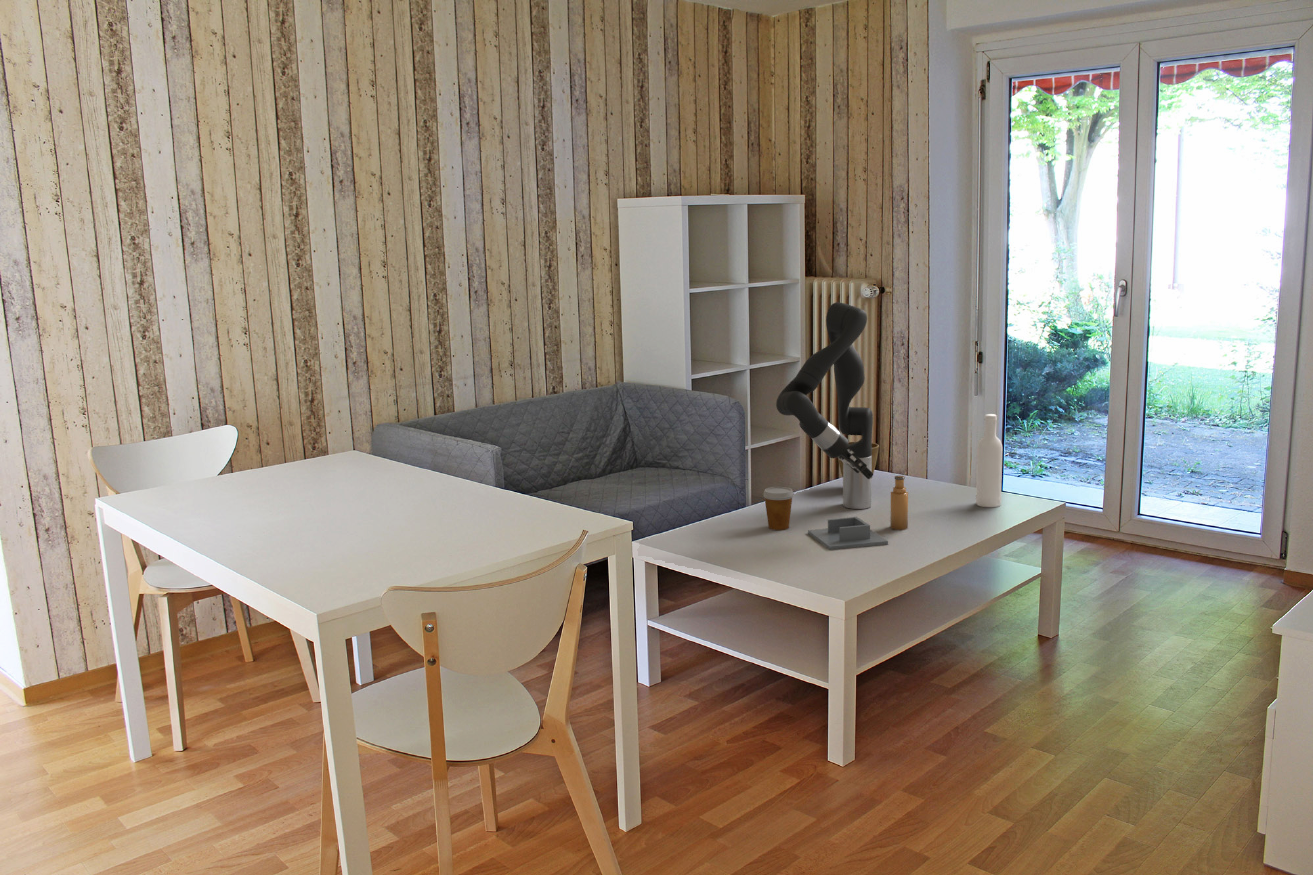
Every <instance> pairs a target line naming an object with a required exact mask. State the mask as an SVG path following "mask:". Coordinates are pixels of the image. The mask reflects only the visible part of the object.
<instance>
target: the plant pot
mask: <svg viewBox="0 0 1313 875" xmlns="http://www.w3.org/2000/svg"><path fill="white" fill-rule="evenodd" d="M856 442H857V441H849V444H848V445H850V444H853V443H856ZM879 448H880V445H879V444H877V443H876V442H872V473H873V474H874V473H875V468H876V465H877V461H878V454H879ZM837 461H838V467H839V469H840V473H841V477H842V478H843V462H842V461H841V460H840V459H839V458H838V457H837Z"/></svg>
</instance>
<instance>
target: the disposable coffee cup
mask: <svg viewBox="0 0 1313 875" xmlns="http://www.w3.org/2000/svg"><path fill="white" fill-rule="evenodd" d="M794 495H795V493H794V491H793V489H792V488H791V487H784V486H771V487H766V488H765V489H764V491H763V493H762V496H763V498H764V502H765V511H766V517H767V518H766V519H767V526H768V528H769V529H770V530H774V531H783V530H784V531H785V530H788V529H789V528H790V521H791V512H792V504H793V497H794Z"/></svg>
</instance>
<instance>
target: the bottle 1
mask: <svg viewBox="0 0 1313 875" xmlns="http://www.w3.org/2000/svg"><path fill="white" fill-rule="evenodd" d="M905 479H906V477H905V476H904V475H895V476H894V481H895V482H894V483H895V484H894V487H892V491H890V520H889V521H890V522H889V523H890V525H889V528H890V529H892V530H898V531H899V530H900V531H902V530H907V529H908V528H909V524H908V523H909V492H908V491H907V487H905Z"/></svg>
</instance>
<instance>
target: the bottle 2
mask: <svg viewBox="0 0 1313 875" xmlns="http://www.w3.org/2000/svg"><path fill="white" fill-rule="evenodd" d="M997 417H998V416H997V414H994V413H988V414H985V415H984V419H983V420H984V436H983V437H981V439H979V441H978V443H977V447H976V448H977V451H976V452H977V454H976V491H975V492H976V494H975V505H976V506H978V507H982V508H998V507H1000V506H1001V505H1002V503H1001V502H1002V480H1003V479H1002V477H1003V475H1002V474H1003V473H1002V472H1003V450H1004V449H1003V444H1002V440H1001V439H1000V438H999V437H998V436H997V421H998V418H997Z"/></svg>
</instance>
